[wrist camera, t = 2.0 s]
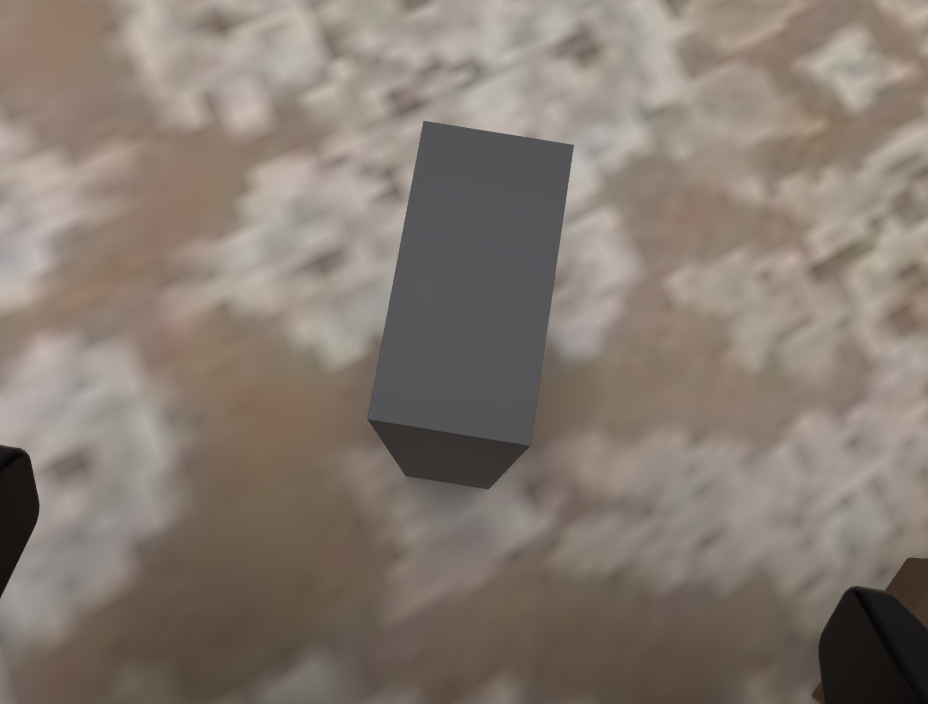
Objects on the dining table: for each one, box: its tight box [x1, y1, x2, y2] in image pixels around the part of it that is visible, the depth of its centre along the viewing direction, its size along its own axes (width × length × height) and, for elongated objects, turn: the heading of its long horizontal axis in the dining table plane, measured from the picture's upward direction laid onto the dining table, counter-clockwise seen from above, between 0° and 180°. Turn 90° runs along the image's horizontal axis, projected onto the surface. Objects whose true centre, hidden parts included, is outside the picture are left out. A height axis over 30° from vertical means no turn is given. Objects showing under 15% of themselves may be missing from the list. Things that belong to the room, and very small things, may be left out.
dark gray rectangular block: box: [368, 121, 574, 489], centre depth 15 cm, size 2×4×10 cm, turn 171°
